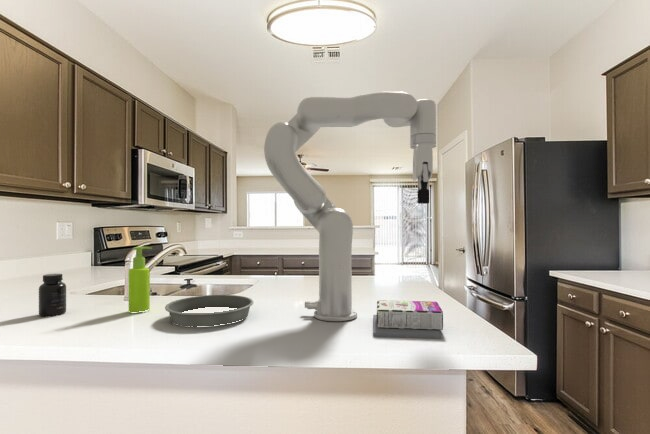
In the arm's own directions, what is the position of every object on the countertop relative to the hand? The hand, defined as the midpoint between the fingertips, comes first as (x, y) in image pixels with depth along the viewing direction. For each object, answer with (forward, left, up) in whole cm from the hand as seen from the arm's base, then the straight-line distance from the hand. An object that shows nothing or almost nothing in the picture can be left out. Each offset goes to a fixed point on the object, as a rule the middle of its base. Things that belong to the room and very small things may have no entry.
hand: (423, 203), depth 115 cm
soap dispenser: (-87, -6, -33) cm, 93 cm away
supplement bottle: (-111, -13, -33) cm, 117 cm away
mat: (-7, -15, -33) cm, 37 cm away
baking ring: (-62, -11, -34) cm, 71 cm away
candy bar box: (+2, -15, -30) cm, 34 cm away
